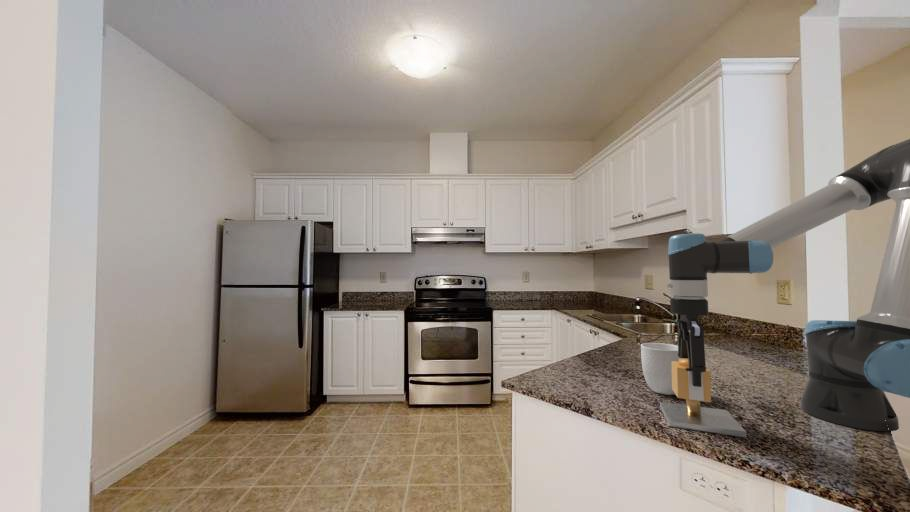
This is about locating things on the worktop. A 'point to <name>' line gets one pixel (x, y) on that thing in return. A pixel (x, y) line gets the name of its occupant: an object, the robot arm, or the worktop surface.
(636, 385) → the worktop surface
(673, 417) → the plate with brass peg
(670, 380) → the mug
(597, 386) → the worktop surface
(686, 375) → the cube with dome top
